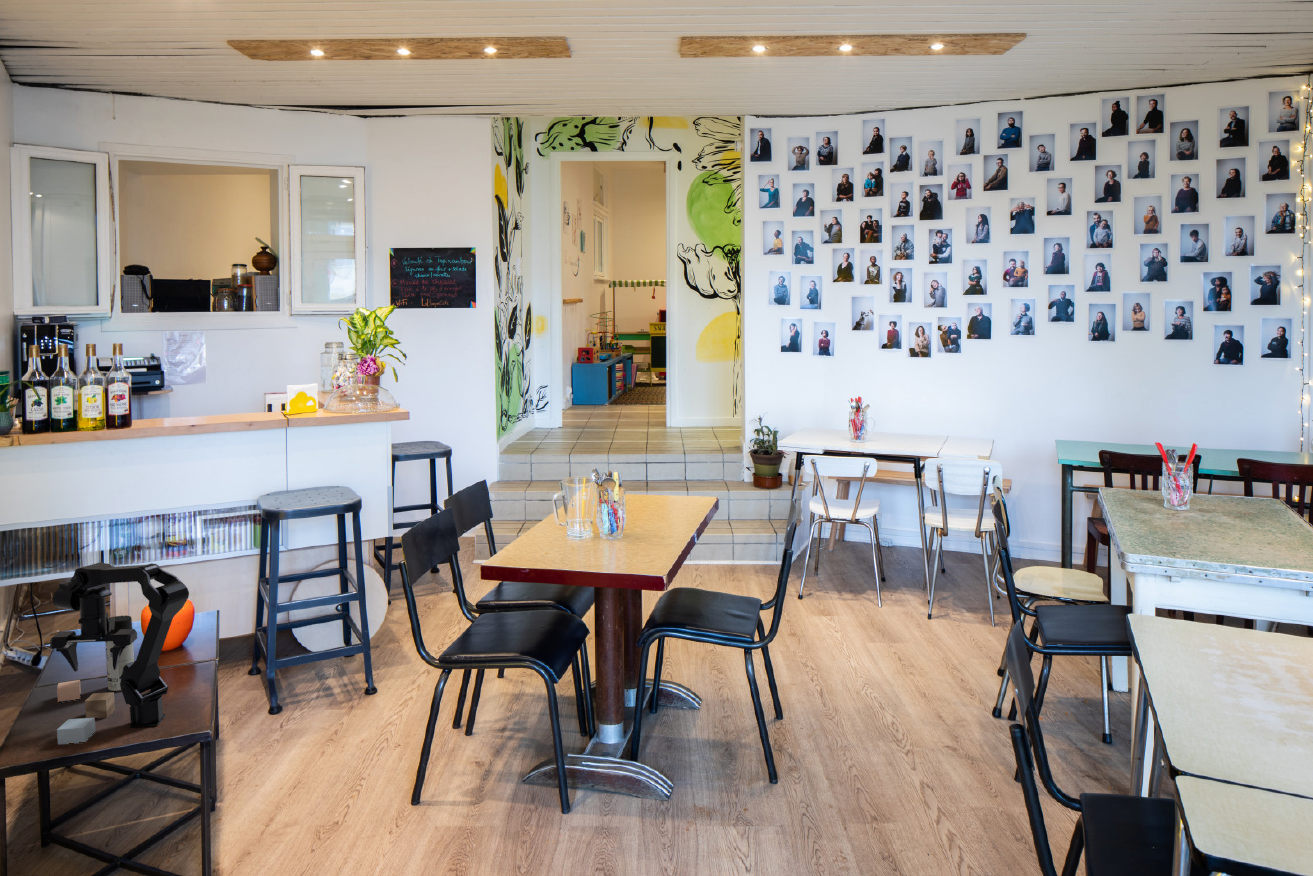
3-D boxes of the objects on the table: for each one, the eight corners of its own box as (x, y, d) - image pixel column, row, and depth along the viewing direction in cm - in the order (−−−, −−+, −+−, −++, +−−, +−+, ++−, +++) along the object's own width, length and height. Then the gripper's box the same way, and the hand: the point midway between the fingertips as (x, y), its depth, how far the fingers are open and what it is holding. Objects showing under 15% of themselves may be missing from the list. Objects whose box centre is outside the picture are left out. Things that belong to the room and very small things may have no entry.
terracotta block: (80, 693, 252) (79, 679, 251) (79, 700, 247) (78, 686, 247) (59, 697, 249) (58, 683, 249) (58, 703, 245) (56, 689, 244)
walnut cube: (115, 710, 241) (113, 692, 240) (107, 718, 236) (105, 699, 235) (94, 711, 240) (93, 693, 239) (86, 719, 235) (84, 701, 234)
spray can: (110, 684, 258) (106, 616, 256) (137, 681, 260) (133, 613, 258) (105, 693, 252) (101, 623, 249) (133, 690, 254) (129, 620, 252)
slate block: (95, 733, 227) (94, 717, 227) (84, 743, 221) (83, 728, 221) (69, 734, 226) (68, 719, 226) (57, 745, 220) (56, 729, 220)
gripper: (143, 601, 245) (145, 657, 246) (66, 604, 241) (69, 660, 242) (128, 614, 234) (130, 672, 236) (47, 617, 230) (50, 676, 232)
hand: (95, 670), depth 237 cm, fingers open, 9 cm apart
